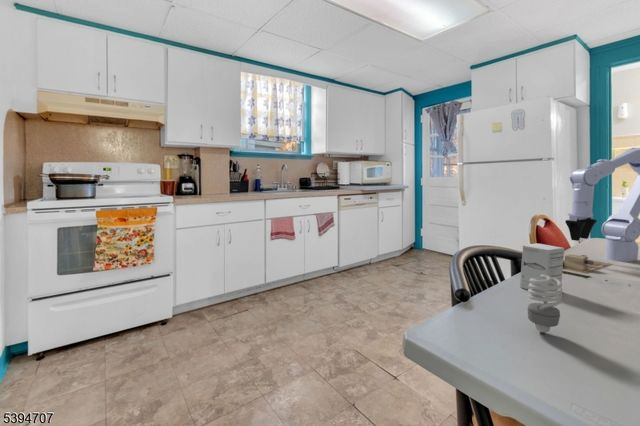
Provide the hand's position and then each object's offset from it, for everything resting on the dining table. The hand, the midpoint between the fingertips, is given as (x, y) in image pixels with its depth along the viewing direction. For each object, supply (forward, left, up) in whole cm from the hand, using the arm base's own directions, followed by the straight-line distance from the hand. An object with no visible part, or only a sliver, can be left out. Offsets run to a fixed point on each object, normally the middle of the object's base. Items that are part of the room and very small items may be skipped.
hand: (579, 239), depth 117 cm
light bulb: (+63, +37, -10) cm, 74 cm away
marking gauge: (+11, +7, -8) cm, 16 cm away
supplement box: (+39, +17, -10) cm, 44 cm away
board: (+6, +6, -9) cm, 12 cm away
